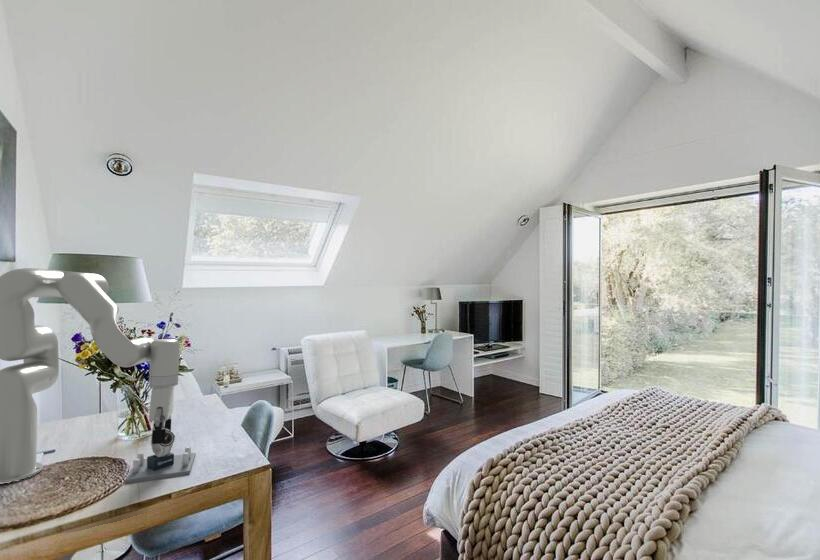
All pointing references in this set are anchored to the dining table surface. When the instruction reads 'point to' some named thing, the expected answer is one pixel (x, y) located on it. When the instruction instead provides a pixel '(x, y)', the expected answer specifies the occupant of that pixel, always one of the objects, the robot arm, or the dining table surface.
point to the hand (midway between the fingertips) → (161, 437)
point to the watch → (162, 453)
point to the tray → (178, 468)
